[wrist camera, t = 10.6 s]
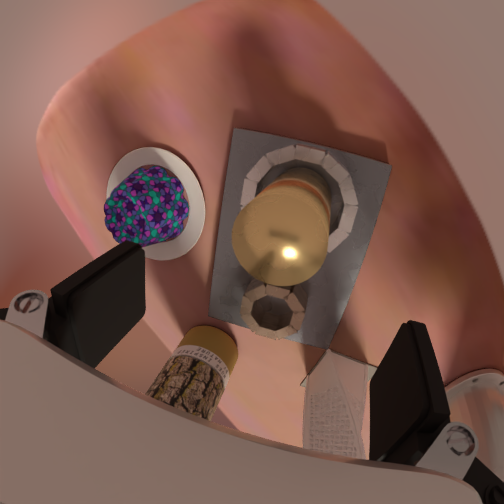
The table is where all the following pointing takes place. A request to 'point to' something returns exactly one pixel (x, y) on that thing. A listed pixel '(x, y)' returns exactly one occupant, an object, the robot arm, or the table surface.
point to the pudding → (154, 203)
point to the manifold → (339, 243)
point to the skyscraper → (336, 405)
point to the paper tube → (197, 372)
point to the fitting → (285, 229)
